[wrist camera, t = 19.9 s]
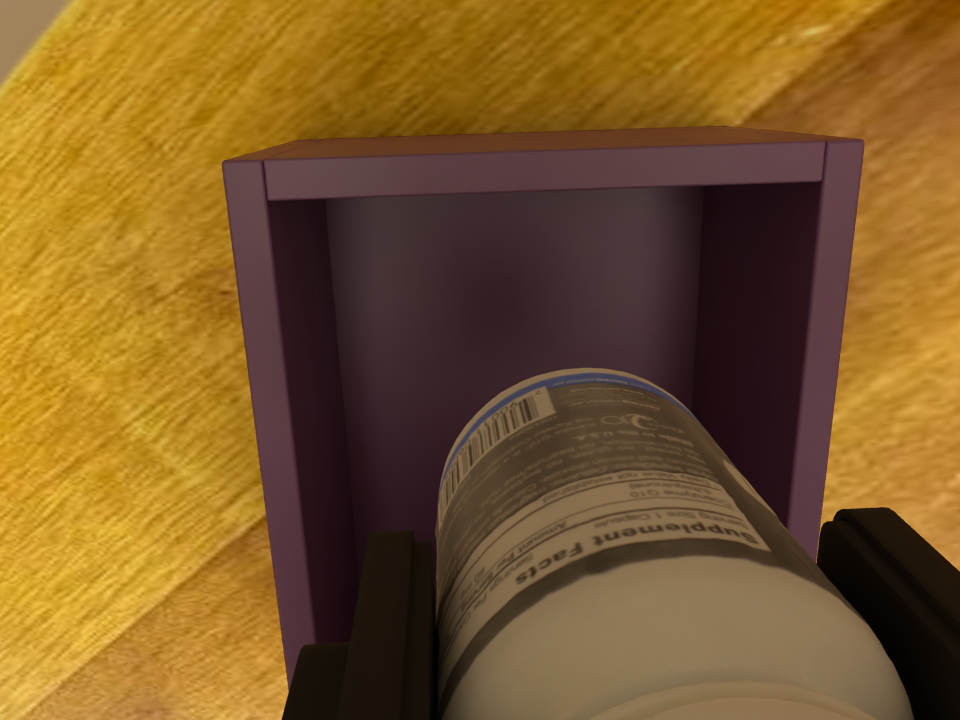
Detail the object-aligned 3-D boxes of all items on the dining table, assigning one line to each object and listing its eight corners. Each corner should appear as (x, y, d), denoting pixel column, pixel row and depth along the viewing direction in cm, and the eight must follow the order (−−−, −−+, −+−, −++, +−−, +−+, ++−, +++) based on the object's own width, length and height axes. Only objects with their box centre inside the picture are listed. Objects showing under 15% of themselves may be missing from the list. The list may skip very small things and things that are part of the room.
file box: (296, 139, 23) (220, 161, 15) (725, 125, 24) (867, 139, 16) (341, 599, 28) (301, 795, 20) (696, 581, 28) (793, 766, 21)
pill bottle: (724, 588, 14) (1088, 1214, 6) (462, 632, 14) (490, 1313, 6) (704, 336, 13) (1148, 732, 5) (412, 385, 13) (365, 863, 5)
